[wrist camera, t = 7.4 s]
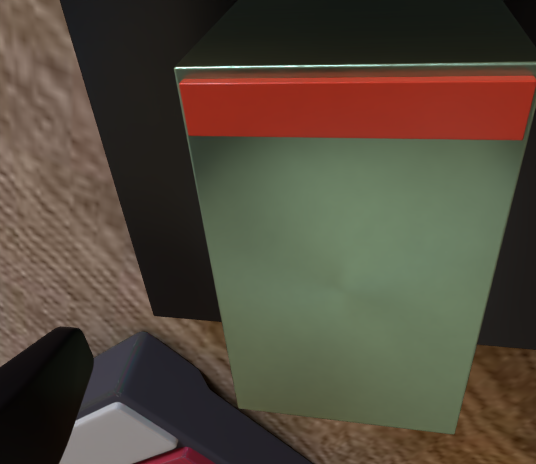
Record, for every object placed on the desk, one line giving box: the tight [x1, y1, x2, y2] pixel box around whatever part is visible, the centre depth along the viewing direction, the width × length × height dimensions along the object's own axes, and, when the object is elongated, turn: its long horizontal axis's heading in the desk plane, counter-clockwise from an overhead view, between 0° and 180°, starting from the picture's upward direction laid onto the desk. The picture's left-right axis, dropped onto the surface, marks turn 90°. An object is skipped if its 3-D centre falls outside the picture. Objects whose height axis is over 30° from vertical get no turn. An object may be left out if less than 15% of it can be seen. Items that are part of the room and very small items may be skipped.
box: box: [174, 0, 536, 434], centre depth 13 cm, size 10×6×5 cm, turn 4°
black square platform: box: [60, 0, 536, 350], centre depth 16 cm, size 16×14×2 cm
